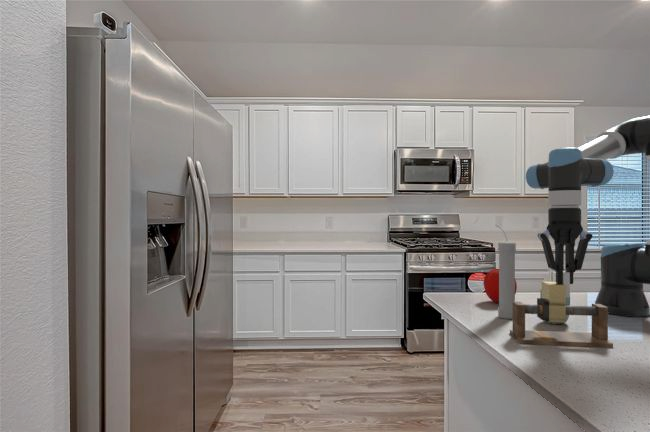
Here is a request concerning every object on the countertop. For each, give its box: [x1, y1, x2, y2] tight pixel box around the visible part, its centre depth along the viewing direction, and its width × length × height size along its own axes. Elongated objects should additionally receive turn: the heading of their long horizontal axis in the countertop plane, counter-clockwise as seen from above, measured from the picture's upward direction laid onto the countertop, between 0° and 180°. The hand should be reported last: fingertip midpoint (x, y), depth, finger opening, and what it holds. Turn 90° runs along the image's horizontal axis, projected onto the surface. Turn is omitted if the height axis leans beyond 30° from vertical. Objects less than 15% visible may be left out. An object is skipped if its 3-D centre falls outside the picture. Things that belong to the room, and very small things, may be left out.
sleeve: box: [541, 281, 567, 324], centre depth 108 cm, size 4×5×10 cm
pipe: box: [495, 224, 517, 320], centre depth 132 cm, size 6×6×30 cm
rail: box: [509, 301, 614, 348], centre depth 108 cm, size 22×9×10 cm, turn 81°
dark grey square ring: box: [536, 297, 549, 322], centre depth 108 cm, size 1×5×5 cm, turn 171°
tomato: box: [483, 267, 518, 304], centre depth 153 cm, size 12×12×13 cm
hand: (564, 296), depth 108 cm, fingers closed
